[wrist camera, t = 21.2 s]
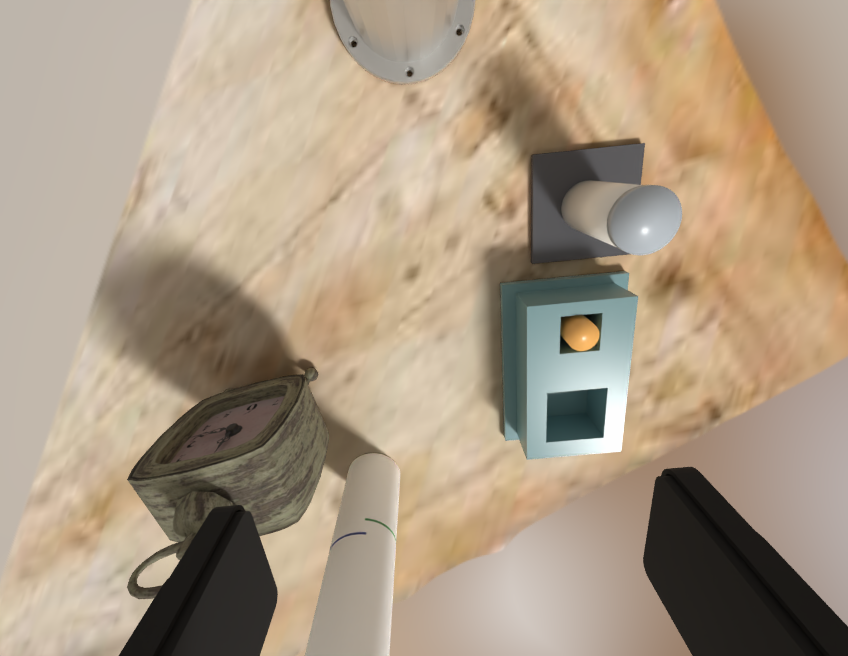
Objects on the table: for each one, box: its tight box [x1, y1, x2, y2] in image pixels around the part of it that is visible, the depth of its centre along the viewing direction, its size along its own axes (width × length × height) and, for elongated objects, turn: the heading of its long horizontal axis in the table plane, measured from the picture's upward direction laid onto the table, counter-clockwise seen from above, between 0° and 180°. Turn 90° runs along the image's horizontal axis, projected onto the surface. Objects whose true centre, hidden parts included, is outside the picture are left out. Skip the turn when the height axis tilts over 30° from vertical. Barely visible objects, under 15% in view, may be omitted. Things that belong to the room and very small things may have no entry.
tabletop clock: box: [127, 368, 329, 599], centre depth 38 cm, size 14×9×25 cm, turn 105°
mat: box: [531, 143, 645, 264], centre depth 41 cm, size 11×11×1 cm
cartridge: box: [561, 180, 682, 255], centre depth 35 cm, size 5×5×12 cm
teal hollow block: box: [500, 271, 638, 460], centre depth 45 cm, size 21×14×6 cm, turn 5°
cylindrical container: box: [305, 453, 400, 656], centre depth 43 cm, size 7×7×25 cm
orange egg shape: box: [560, 315, 599, 351], centre depth 42 cm, size 3×3×4 cm
